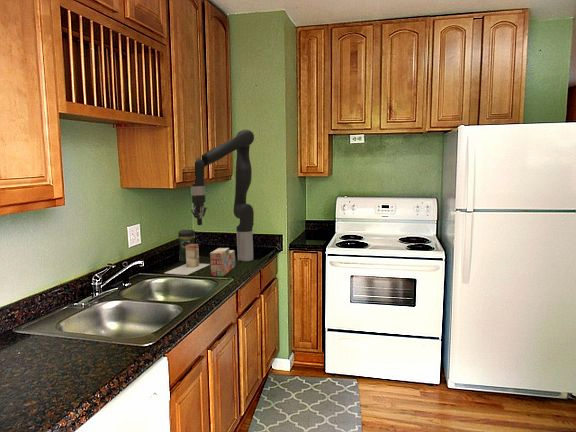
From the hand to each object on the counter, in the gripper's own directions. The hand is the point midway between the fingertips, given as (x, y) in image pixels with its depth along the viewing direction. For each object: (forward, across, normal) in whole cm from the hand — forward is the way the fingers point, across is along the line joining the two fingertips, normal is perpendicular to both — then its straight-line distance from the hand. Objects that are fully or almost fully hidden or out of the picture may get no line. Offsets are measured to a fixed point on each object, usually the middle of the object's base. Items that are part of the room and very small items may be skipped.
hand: (199, 225), depth 244 cm
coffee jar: (+23, -5, -12) cm, 26 cm away
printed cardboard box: (+23, +11, +20) cm, 32 cm away
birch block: (+22, +9, 0) cm, 23 cm away
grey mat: (+22, +14, 0) cm, 26 cm away
